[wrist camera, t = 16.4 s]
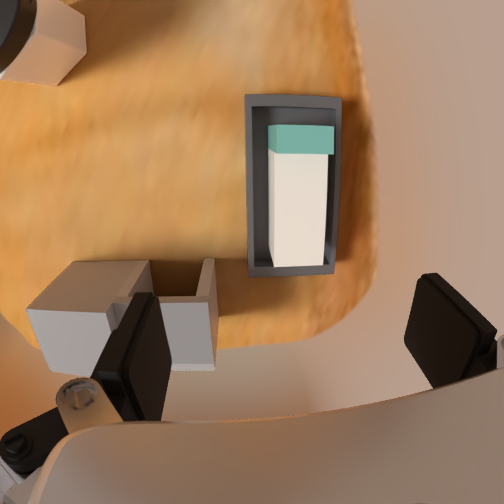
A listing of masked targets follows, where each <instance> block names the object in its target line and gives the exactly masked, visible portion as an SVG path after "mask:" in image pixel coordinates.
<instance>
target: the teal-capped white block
mask: <svg viewBox="0 0 504 504" xmlns="http://www.w3.org/2000/svg"><path fill="white" fill-rule="evenodd" d="M328 154H333V155H334V126H315V125H271V126H268V246H269V249H270V253H271V257H272V261H273V264H274V267H290V266H314V265H323V257H324V242H325V224H326V203H327V174H328Z"/></svg>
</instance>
